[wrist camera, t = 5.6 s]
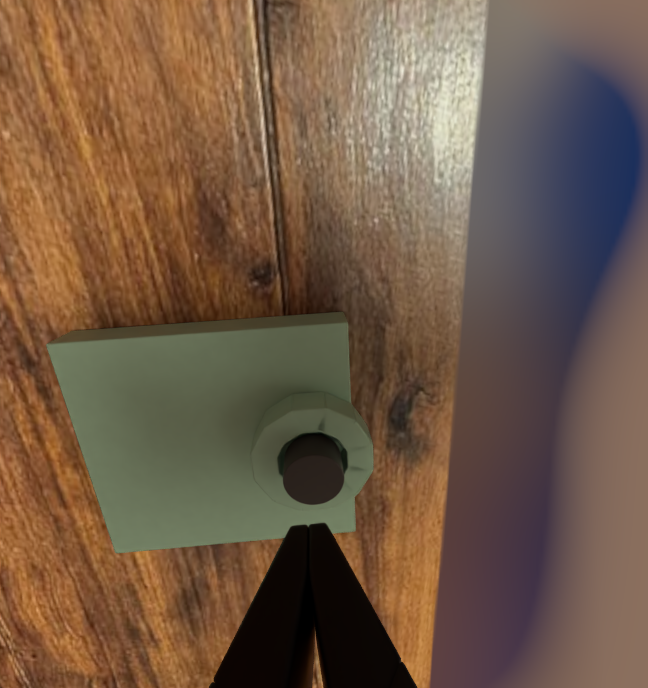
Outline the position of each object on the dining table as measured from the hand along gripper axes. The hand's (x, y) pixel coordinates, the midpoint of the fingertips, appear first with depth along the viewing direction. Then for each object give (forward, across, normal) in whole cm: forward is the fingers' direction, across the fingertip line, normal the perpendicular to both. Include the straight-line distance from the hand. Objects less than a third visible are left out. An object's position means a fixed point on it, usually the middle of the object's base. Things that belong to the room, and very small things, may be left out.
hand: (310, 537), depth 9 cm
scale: (+11, +4, +4) cm, 12 cm away
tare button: (+8, 0, +4) cm, 9 cm away
